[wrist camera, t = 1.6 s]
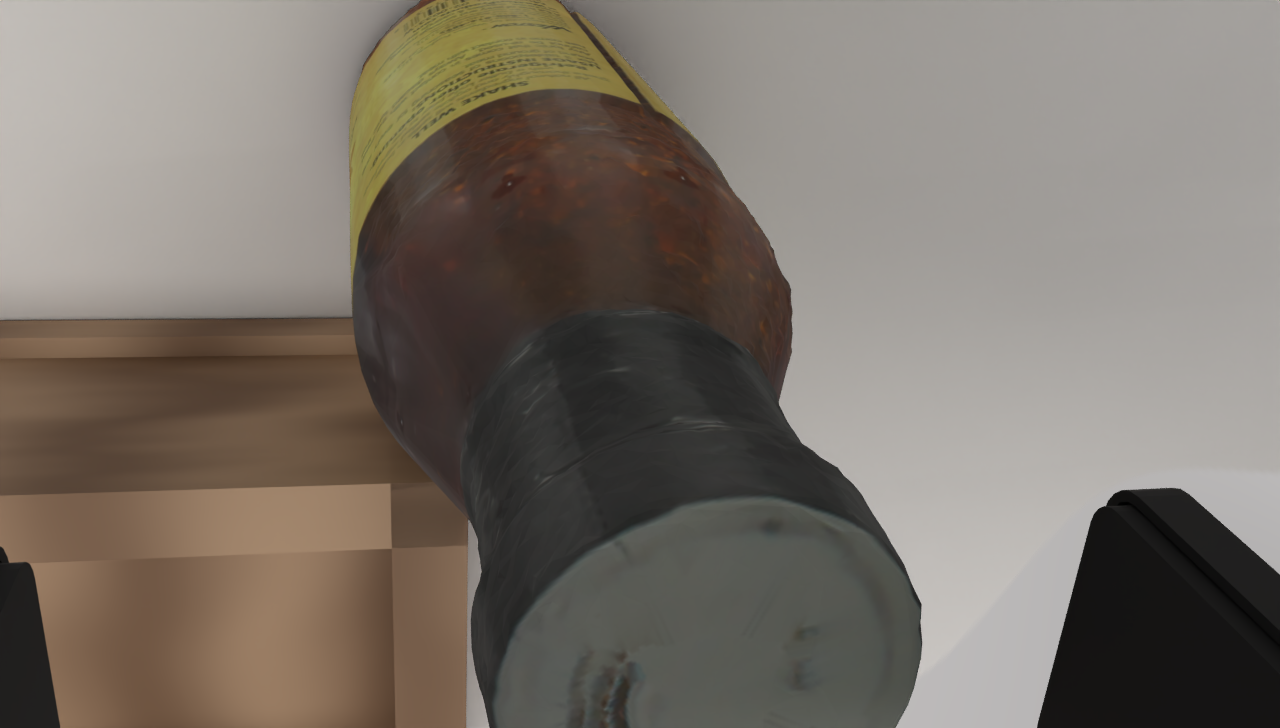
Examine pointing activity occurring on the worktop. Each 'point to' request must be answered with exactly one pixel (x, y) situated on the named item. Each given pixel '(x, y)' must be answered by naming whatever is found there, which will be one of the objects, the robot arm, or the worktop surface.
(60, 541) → the u rest
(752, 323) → the sauce bottle
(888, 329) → the worktop surface
